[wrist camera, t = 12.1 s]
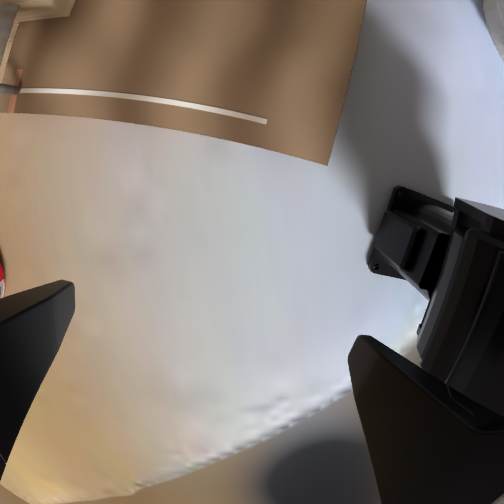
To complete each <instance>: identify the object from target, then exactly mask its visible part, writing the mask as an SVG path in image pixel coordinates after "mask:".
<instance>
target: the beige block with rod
mask: <svg viewBox="0 0 504 504" xmlns="http://www.w3.org/2000/svg"><path fill="white" fill-rule="evenodd" d="M74 3H75V0H0V65H1V62H2V58H3V54H4V51H5V47H6V44H7V41H8V38H9V35H10V32H11V29H12V26H13V23H17V22H24V21H31V20H38V19H47V18H57V17H69V16H70V13H71V10H72V8H73V5H74ZM20 90H21V88H20V86H17V85H9V84H1V83H0V93H1V94H13V95H17V94H19V93H20Z"/></svg>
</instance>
